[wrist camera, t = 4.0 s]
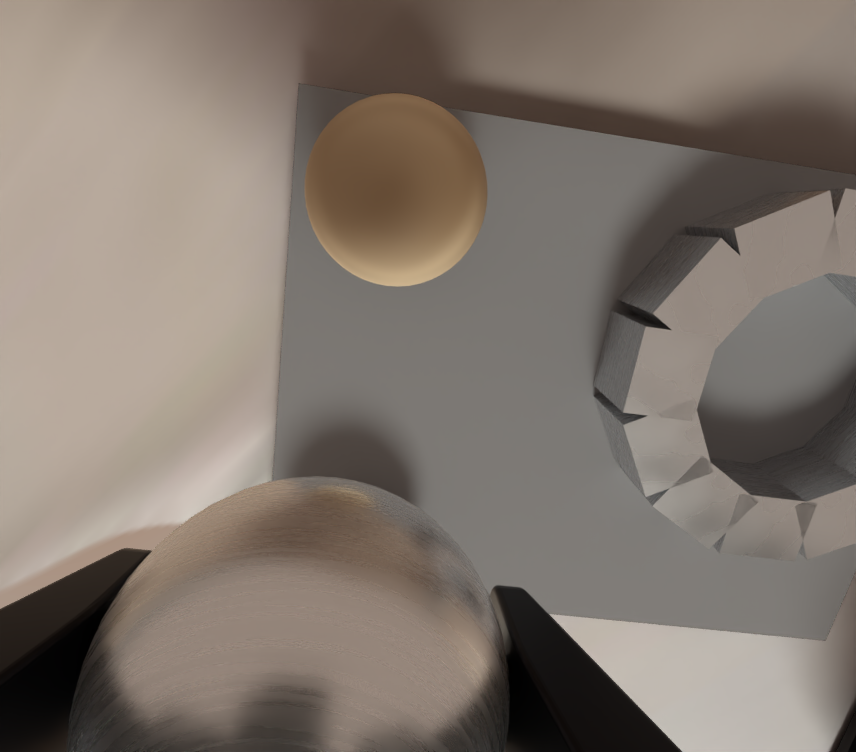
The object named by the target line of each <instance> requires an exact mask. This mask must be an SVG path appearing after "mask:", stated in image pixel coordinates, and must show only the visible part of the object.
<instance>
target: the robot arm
mask: <svg viewBox="0 0 856 752" xmlns="http://www.w3.org/2000/svg"><path fill="white" fill-rule="evenodd" d="M151 552H152V551H151V550H141V549H131V548H124V549H121V550H119V551H116V552H114V553H113V554H110V555H108V556H106V557H104V558H102V559H100V560H98V561H96V562H94V563H92V564H90V565H88V566H86V567H84V568H82V569H80V570H78V571H76V572H74V573H72V574H70V575H68V576H66V577H64V578H62V579H60V580H58V581H56V582H54V583H52V584H50V585H48V586H46V587H44V588H42V589H40V590H38V591H36V592H34V593H32V594H30V595H28V596H26V597H24V598H22V599H20V600H18V601H16V602H14V603H11V604H9V605H7V606H5V607H3V608H1V609H0V752H67V739H68V729H69V719H70V713H71V708H72V703H73V698H74V693H75V690H76V686H77V682H78V679H79V675H80V671H81V668H82V665H83V662H84V660H85V657H86V655H87V652H88V650H89V647H90V645H91V643H92V640H93V638H94V636H95V634H96V631H97V629H98V627H99V625H100V622H101V620H102V618H103V617H104V615H105V614H106V612H107V610H108V609H109V607H110V605H111V604H112V602H113V601H114V599H115V597H116V596H117V594H118V593H119V591H120V590H121V588H122V587H123V585H124V584H125V582H126V581H127V579H128V578H129V577H130V575H131V574H132V573H133V572H134V571H135V570H136V569H137V567H138V566H139V565H140V564H141V563H142V562H143V560H144V559H145V558H146V557H147V556H148V555H149V554H150V553H151ZM490 598H491V601H492V604H493V606H494V609H495V612H496V615H497V618H498V621H499V624H500V628H501V631H502V634H503V640H504V645H505V651H506V657H507V664H508V671H509V695H510V700H509V726H508V733H507V739H506V745H505V751H504V752H682V751H681V750H680V749H679V748H678V747H677V746H676V745H675V744H674V743H673V742H672V741H671V740H670V739H669V738H668V737H667V736H666V734H665V733H664V732H663V731H662V730H661V729H660V728H659V727H658V726H657V725H656V724H655V723H654V722H653V721H652V720H651V719H650V718H649V717H648V716H647V715H646V714H645V713H644V712H643V711H642V710H641V709H640V708H639V707H638V706H637V705H636V704H635V703H634V701H633V700H632V699H631V698H630V697H629V696H628V695H627V694H626V693H625V692H624V691H623V690H622V689H621V688H620V687H619V686H618V685H617V684H616V683H615V682H614V681H613V680H612V679H611V678H610V677H609V676H608V675H607V674H606V673H605V672H604V671H603V670H602V668H601V667H600V666H599V665H598V664H597V663H596V662H595V661H594V660H593V659H592V658H591V657H590V656H589V655H588V654H587V653H586V652H585V651H584V650H583V649H582V648H581V647H580V646H579V645H578V644H577V643H576V642H575V641H574V640H573V639H572V638H571V637H570V635H569V634H568V633H567V632H566V631H565V630H564V629H563V628H562V627H561V626H560V625H559V624H558V623H557V622H556V621H555V620H554V619H553V618H552V617H551V616H550V615H549V614H548V613H547V612H546V611H545V610H544V609H543V608H542V607H541V606H540V605H539V604H538V602H537V601H536V600H535V599H534V598H533V597H532V596H531V595H530V594H529V593H528V592H527V591H526V590H524V589H523V588H521V587H514V586H503V585H496V586H494V587H493V589H492V590H491V593H490ZM836 752H856V711H855V713H854V715H853V718H852V720H851V722H850V724H849V726H848V728H847V730H846V732H845V734H844V736H843V738H842V741H841V743H840V745H839V747H838V749H837V751H836Z"/></svg>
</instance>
